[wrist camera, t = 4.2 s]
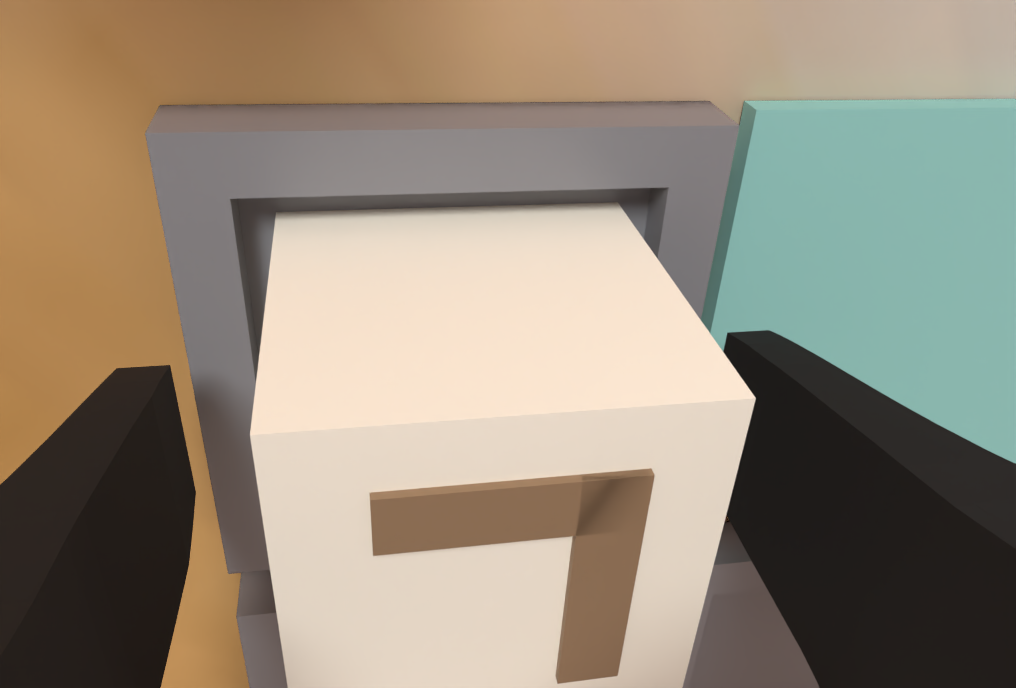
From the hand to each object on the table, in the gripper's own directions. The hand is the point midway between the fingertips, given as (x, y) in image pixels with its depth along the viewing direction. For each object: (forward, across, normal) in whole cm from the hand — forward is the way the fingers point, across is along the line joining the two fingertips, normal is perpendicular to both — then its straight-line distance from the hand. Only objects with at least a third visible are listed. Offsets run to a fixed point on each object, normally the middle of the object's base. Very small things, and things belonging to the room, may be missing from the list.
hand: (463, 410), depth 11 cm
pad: (+2, -8, 0) cm, 8 cm away
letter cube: (+1, 0, 0) cm, 1 cm away
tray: (+2, 0, 0) cm, 2 cm away
